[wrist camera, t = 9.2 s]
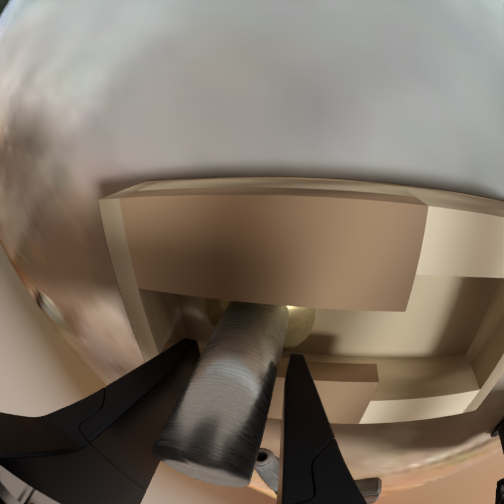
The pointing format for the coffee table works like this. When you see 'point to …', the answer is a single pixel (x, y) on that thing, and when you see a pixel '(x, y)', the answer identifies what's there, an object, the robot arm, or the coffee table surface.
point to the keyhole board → (326, 282)
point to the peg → (231, 391)
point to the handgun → (270, 471)
